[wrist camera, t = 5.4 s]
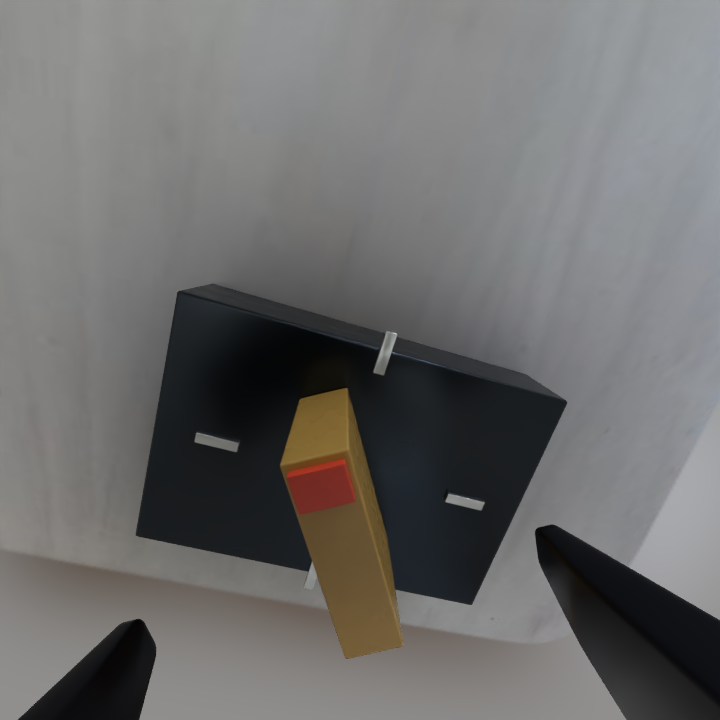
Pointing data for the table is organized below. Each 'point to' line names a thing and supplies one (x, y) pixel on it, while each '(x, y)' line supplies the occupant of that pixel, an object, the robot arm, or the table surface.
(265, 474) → the block
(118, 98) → the table surface
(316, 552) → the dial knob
